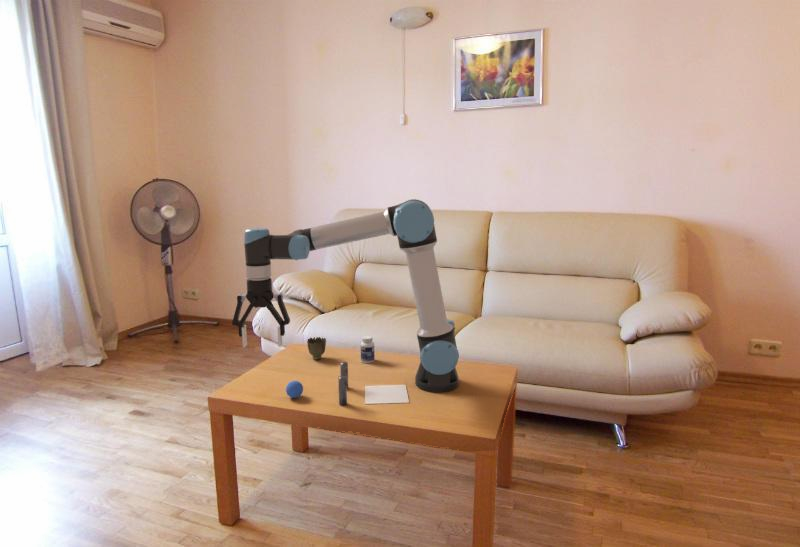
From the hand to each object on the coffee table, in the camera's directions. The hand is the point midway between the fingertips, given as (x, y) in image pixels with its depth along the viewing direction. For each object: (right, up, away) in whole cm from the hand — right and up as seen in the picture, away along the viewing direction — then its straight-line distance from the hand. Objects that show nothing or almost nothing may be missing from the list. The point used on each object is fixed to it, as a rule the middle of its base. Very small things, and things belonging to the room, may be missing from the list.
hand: (262, 345), depth 163 cm
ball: (+9, -15, +3) cm, 18 cm away
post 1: (+25, -16, +11) cm, 32 cm away
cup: (+11, -11, +39) cm, 42 cm away
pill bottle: (+31, -11, +36) cm, 49 cm away
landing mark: (+39, -17, +6) cm, 43 cm away
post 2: (+26, -18, -1) cm, 32 cm away
